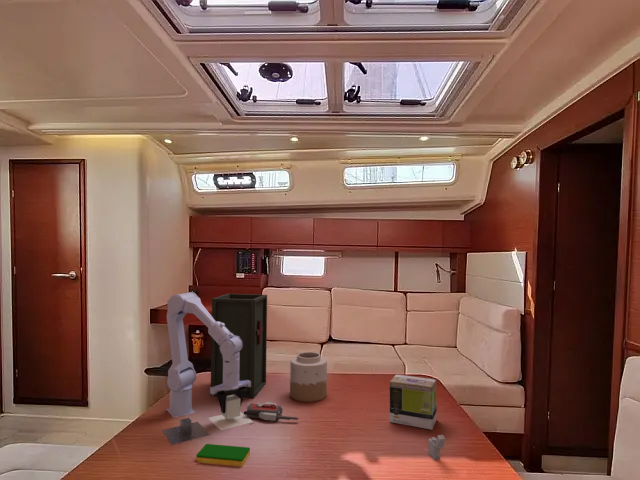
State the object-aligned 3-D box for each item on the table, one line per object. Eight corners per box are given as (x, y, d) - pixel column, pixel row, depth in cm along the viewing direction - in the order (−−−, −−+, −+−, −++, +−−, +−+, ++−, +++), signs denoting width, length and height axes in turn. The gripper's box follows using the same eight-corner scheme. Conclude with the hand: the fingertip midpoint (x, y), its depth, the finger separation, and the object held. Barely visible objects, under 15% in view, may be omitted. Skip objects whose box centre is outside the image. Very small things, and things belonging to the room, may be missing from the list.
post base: (161, 431, 135) (162, 418, 135) (197, 423, 142) (197, 410, 142) (172, 446, 125) (172, 431, 125) (209, 436, 132) (210, 422, 132)
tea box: (437, 419, 147) (437, 378, 147) (432, 431, 138) (432, 387, 138) (395, 412, 153) (396, 372, 153) (388, 422, 144) (389, 380, 144)
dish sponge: (242, 468, 114) (242, 459, 114) (195, 463, 116) (195, 455, 116) (250, 455, 121) (250, 447, 121) (206, 451, 123) (206, 443, 123)
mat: (207, 419, 145) (207, 417, 145) (239, 411, 152) (239, 410, 152) (220, 432, 135) (220, 430, 135) (253, 423, 142) (253, 421, 142)
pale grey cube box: (221, 414, 144) (221, 397, 144) (234, 411, 147) (234, 394, 147) (226, 419, 140) (227, 401, 140) (240, 415, 143) (240, 398, 143)
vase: (333, 393, 172) (333, 353, 172) (313, 405, 159) (314, 362, 160) (303, 386, 180) (304, 348, 181) (282, 397, 167) (283, 356, 168)
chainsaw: (241, 419, 144) (297, 424, 142) (242, 406, 144) (298, 411, 142) (247, 410, 152) (300, 414, 151) (248, 398, 153) (301, 402, 151)
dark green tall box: (226, 381, 186) (228, 293, 187) (266, 383, 183) (267, 294, 184) (210, 395, 168) (212, 298, 168) (253, 398, 165) (255, 299, 166)
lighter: (428, 453, 123) (428, 426, 123) (433, 452, 123) (433, 425, 123) (439, 465, 116) (439, 437, 116) (445, 465, 116) (445, 436, 116)
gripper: (215, 378, 136) (215, 419, 136) (254, 371, 145) (254, 409, 144) (208, 373, 142) (207, 412, 142) (246, 366, 150) (245, 403, 150)
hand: (230, 410), depth 144 cm, fingers closed on pale grey cube box, 5 cm apart
